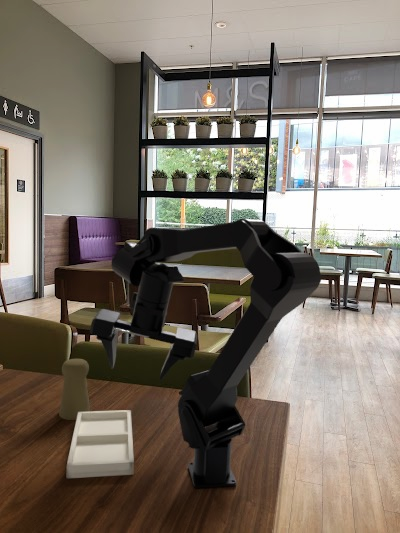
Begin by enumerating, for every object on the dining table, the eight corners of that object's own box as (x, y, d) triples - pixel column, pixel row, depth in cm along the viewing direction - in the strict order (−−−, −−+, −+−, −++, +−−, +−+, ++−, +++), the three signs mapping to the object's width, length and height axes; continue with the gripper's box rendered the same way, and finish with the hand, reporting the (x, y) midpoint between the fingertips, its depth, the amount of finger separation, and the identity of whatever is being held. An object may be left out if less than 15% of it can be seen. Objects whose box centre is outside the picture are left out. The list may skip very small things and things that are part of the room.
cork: (85, 420, 87) (86, 365, 86) (54, 419, 87) (55, 364, 86) (93, 407, 93) (94, 356, 92) (64, 406, 93) (65, 355, 92)
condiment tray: (133, 474, 69) (133, 462, 69) (66, 478, 67) (66, 465, 67) (130, 419, 88) (130, 410, 88) (78, 421, 86) (78, 411, 86)
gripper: (206, 293, 86) (188, 363, 91) (112, 270, 86) (98, 342, 90) (204, 316, 75) (183, 394, 80) (96, 290, 75) (82, 369, 80)
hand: (136, 373), depth 83 cm, fingers open, 9 cm apart
